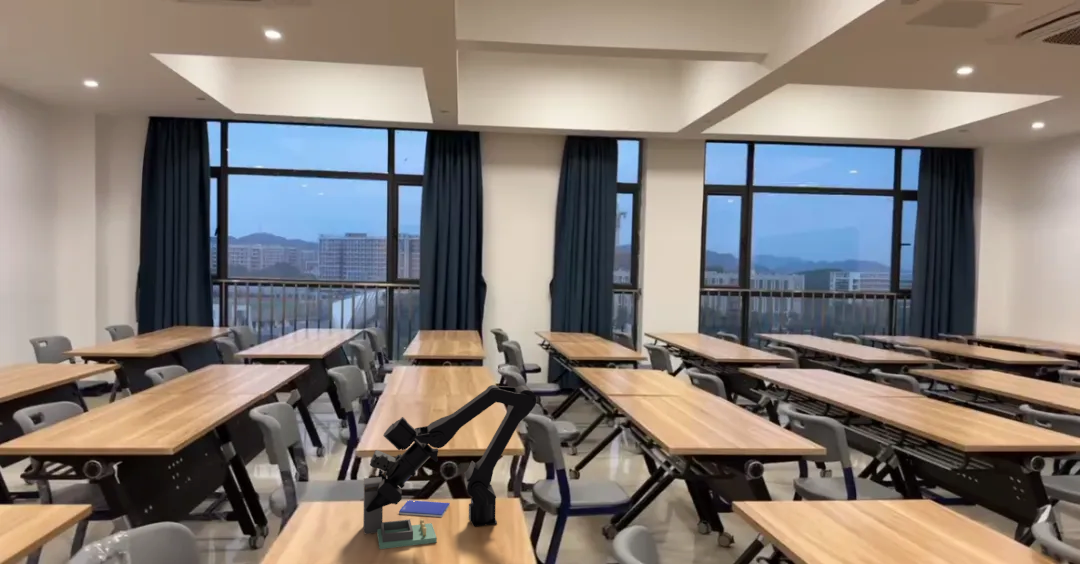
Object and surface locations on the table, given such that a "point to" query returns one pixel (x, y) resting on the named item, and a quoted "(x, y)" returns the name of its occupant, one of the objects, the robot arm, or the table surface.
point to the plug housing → (370, 490)
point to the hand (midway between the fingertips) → (367, 504)
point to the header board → (405, 534)
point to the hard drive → (424, 508)
